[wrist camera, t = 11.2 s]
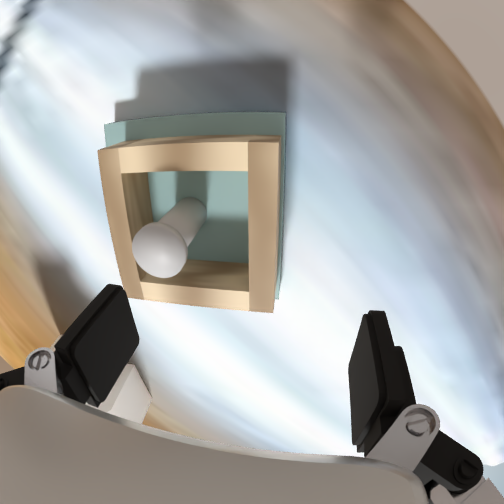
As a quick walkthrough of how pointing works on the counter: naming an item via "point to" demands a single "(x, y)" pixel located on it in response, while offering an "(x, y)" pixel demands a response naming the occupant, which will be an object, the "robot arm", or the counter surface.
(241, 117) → the lid with knob
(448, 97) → the counter surface
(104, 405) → the corner bracket
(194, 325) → the counter surface
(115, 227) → the ring
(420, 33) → the counter surface
